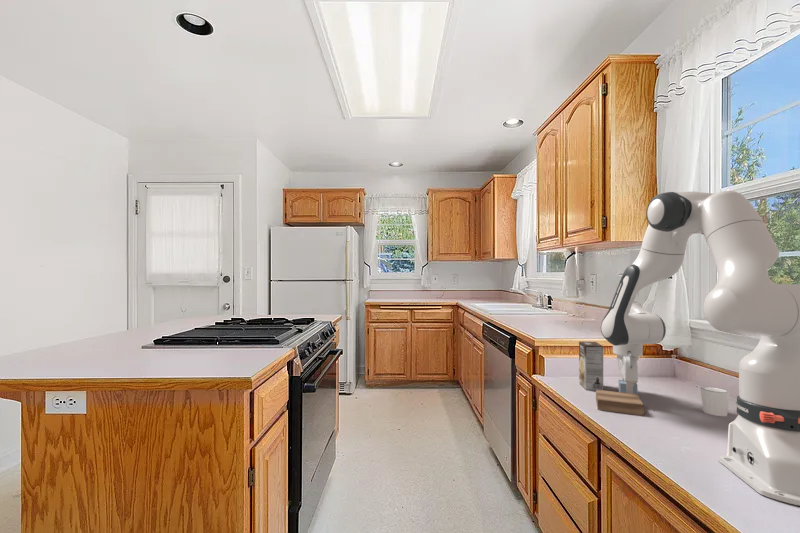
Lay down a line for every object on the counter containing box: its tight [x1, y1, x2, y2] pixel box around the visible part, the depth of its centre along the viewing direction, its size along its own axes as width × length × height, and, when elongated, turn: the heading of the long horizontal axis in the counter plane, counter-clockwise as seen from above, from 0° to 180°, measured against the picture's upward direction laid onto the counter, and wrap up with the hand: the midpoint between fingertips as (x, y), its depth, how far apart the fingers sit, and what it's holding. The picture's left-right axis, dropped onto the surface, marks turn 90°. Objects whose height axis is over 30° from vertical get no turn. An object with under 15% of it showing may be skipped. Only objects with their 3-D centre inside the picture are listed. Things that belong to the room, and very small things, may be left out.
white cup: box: [700, 386, 731, 417], centre depth 118 cm, size 7×7×7 cm
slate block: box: [618, 379, 639, 395], centre depth 133 cm, size 5×5×5 cm
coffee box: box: [578, 341, 604, 391], centre depth 145 cm, size 9×6×16 cm
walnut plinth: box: [595, 389, 645, 416], centre depth 123 cm, size 12×12×3 cm
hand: (627, 390), depth 133 cm, fingers open, 8 cm apart
